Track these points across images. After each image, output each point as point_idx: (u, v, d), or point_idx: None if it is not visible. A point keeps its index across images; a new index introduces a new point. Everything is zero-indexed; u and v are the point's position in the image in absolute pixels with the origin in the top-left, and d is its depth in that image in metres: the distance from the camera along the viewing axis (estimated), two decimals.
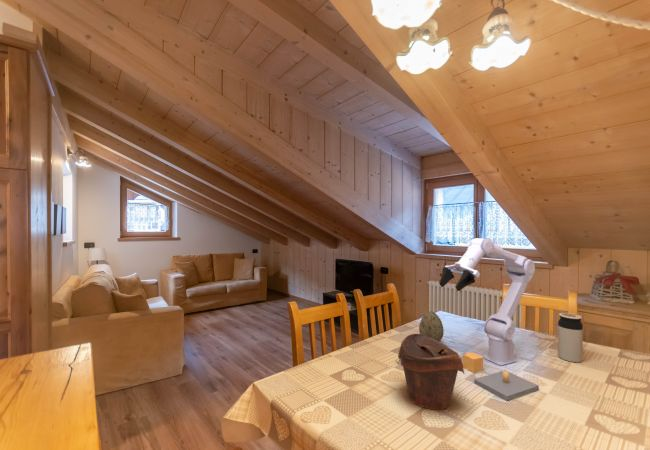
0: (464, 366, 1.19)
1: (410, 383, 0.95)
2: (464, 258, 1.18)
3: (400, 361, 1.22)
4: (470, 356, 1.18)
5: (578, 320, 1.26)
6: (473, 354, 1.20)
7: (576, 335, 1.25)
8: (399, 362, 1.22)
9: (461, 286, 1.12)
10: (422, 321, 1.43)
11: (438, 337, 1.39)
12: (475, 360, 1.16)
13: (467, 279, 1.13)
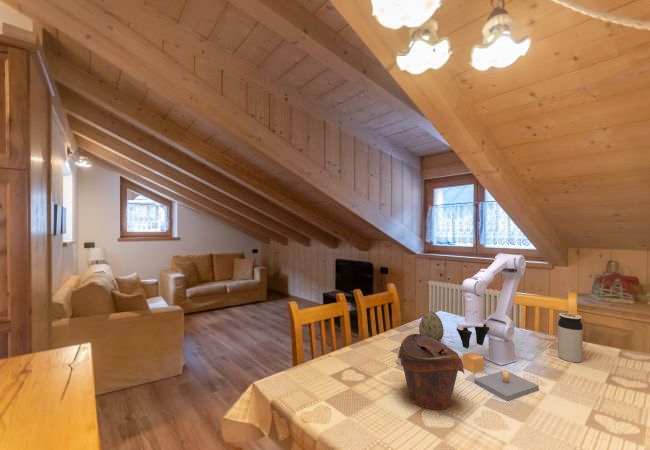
0: (464, 366, 1.19)
1: (410, 383, 0.95)
2: (480, 315, 1.17)
3: (399, 361, 1.22)
4: (470, 356, 1.18)
5: (578, 320, 1.26)
6: (473, 354, 1.20)
7: (576, 335, 1.25)
8: (398, 362, 1.22)
9: None
10: (422, 321, 1.43)
11: (438, 337, 1.39)
12: (475, 360, 1.16)
13: None
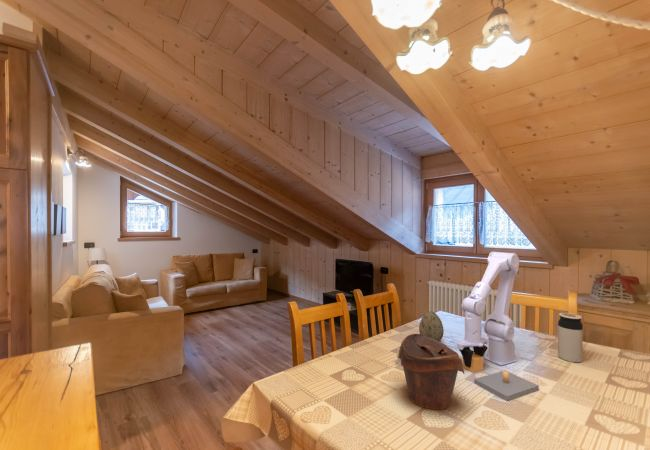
0: (464, 366, 1.19)
1: (410, 383, 0.95)
2: (480, 334, 1.17)
3: (399, 361, 1.21)
4: None
5: (578, 320, 1.26)
6: (473, 354, 1.20)
7: (576, 335, 1.25)
8: (398, 362, 1.22)
9: None
10: (422, 321, 1.43)
11: (438, 337, 1.39)
12: (475, 360, 1.16)
13: None
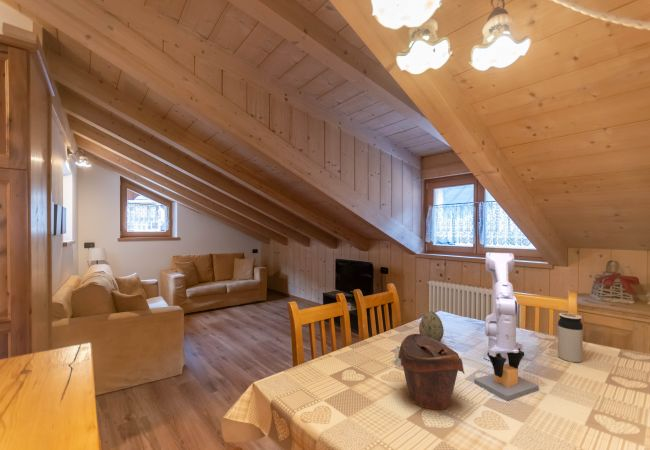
0: (496, 379, 1.06)
1: (410, 383, 0.95)
2: (514, 339, 1.03)
3: (397, 361, 1.21)
4: (503, 368, 1.05)
5: (578, 320, 1.26)
6: (506, 365, 1.07)
7: (576, 335, 1.25)
8: (396, 362, 1.22)
9: None
10: (422, 321, 1.43)
11: (438, 337, 1.39)
12: (509, 373, 1.03)
13: None
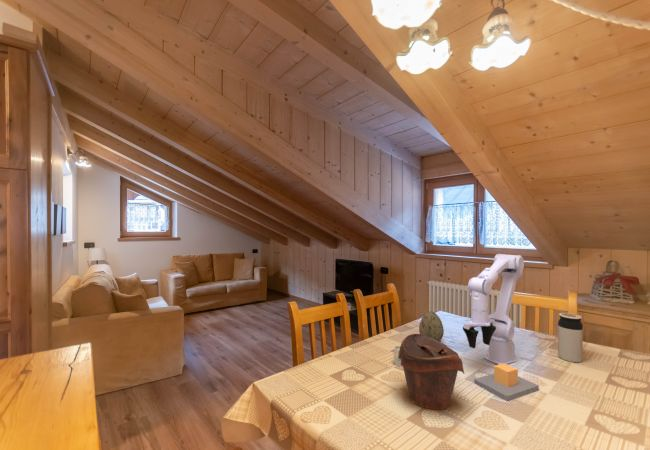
0: (496, 379, 1.06)
1: (410, 383, 0.95)
2: (486, 314, 1.15)
3: (396, 361, 1.21)
4: (503, 368, 1.05)
5: (578, 320, 1.26)
6: (506, 365, 1.07)
7: (576, 335, 1.25)
8: (395, 362, 1.22)
9: None
10: (422, 321, 1.43)
11: (438, 337, 1.39)
12: (509, 373, 1.03)
13: None
